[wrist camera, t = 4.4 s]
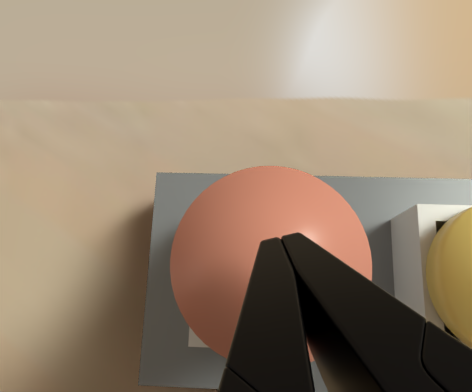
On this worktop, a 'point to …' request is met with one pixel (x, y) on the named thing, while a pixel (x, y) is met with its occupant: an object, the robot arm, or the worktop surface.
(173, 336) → the control box
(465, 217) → the button mustard
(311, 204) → the button brick
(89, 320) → the worktop surface
